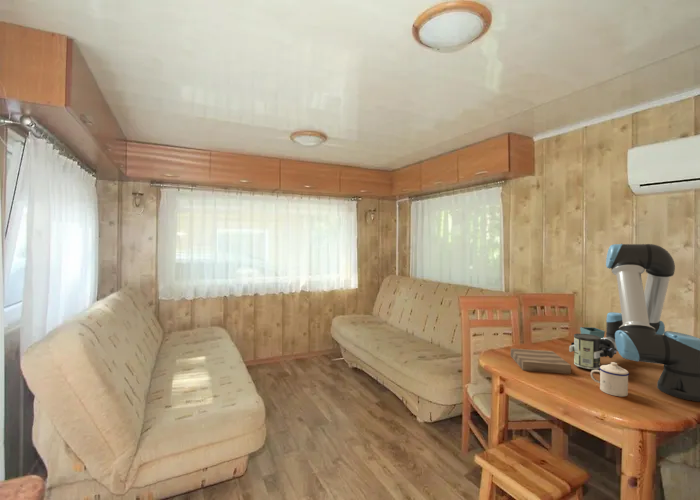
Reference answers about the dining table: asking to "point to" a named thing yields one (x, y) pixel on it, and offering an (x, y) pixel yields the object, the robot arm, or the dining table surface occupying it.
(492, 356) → the dining table surface
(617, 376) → the teacup with lid
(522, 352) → the walnut block
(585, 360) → the coffee can
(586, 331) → the flower pot
